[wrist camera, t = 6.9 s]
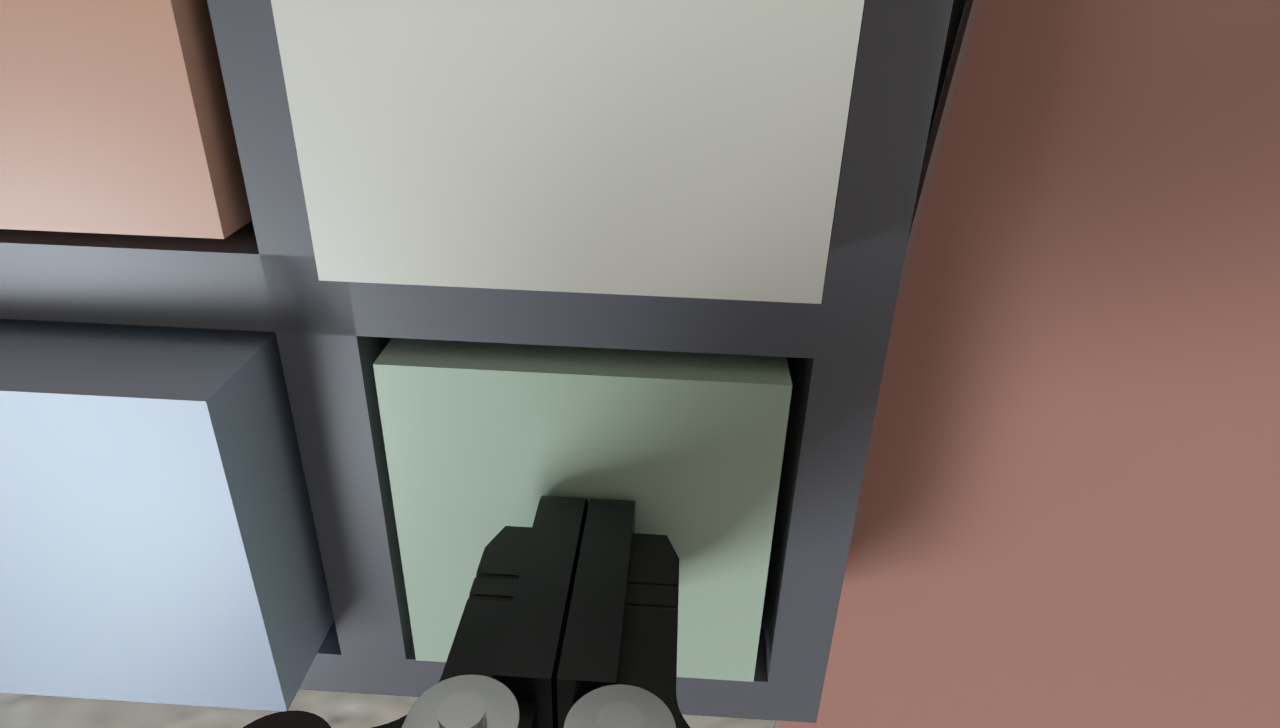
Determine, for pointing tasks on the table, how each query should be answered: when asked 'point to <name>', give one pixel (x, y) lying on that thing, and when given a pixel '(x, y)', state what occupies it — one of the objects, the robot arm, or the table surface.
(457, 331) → the keypad
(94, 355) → the dusty blue key
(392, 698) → the table surface
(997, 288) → the notebook
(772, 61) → the cream key
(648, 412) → the sage key
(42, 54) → the terracotta key
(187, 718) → the table surface
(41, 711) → the table surface
